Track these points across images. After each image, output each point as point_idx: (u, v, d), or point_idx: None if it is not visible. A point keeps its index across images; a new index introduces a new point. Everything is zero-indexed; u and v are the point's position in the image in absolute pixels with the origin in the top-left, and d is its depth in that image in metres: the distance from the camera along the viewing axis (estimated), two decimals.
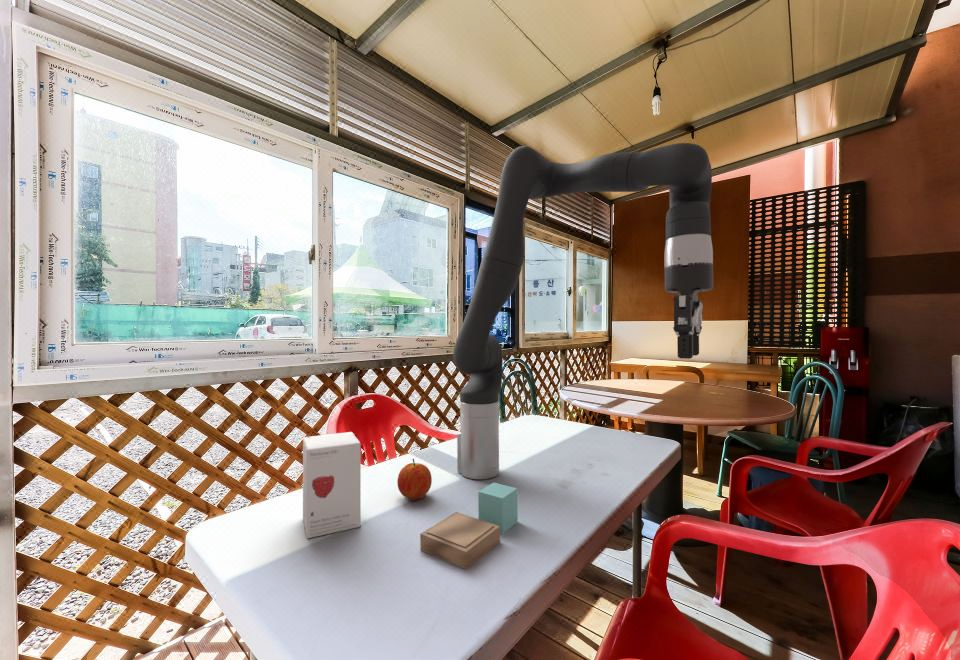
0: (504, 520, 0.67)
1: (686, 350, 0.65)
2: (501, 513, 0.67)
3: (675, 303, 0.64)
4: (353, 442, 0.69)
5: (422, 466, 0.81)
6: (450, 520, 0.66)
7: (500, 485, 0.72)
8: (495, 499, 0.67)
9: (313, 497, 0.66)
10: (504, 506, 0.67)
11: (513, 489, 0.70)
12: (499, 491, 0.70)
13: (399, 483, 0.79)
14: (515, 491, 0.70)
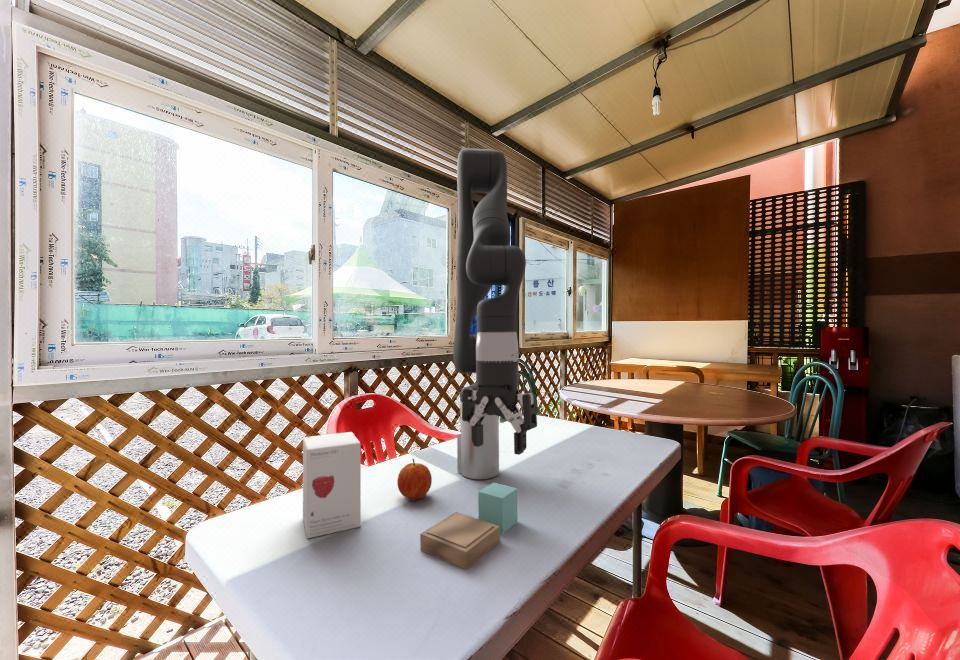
0: (504, 520, 0.67)
1: (524, 445, 0.67)
2: (501, 513, 0.67)
3: (529, 402, 0.65)
4: (353, 442, 0.69)
5: (422, 466, 0.81)
6: (450, 520, 0.66)
7: (500, 485, 0.72)
8: (495, 499, 0.67)
9: (313, 497, 0.66)
10: (504, 506, 0.67)
11: (513, 489, 0.70)
12: (498, 491, 0.70)
13: (399, 483, 0.79)
14: (515, 491, 0.70)
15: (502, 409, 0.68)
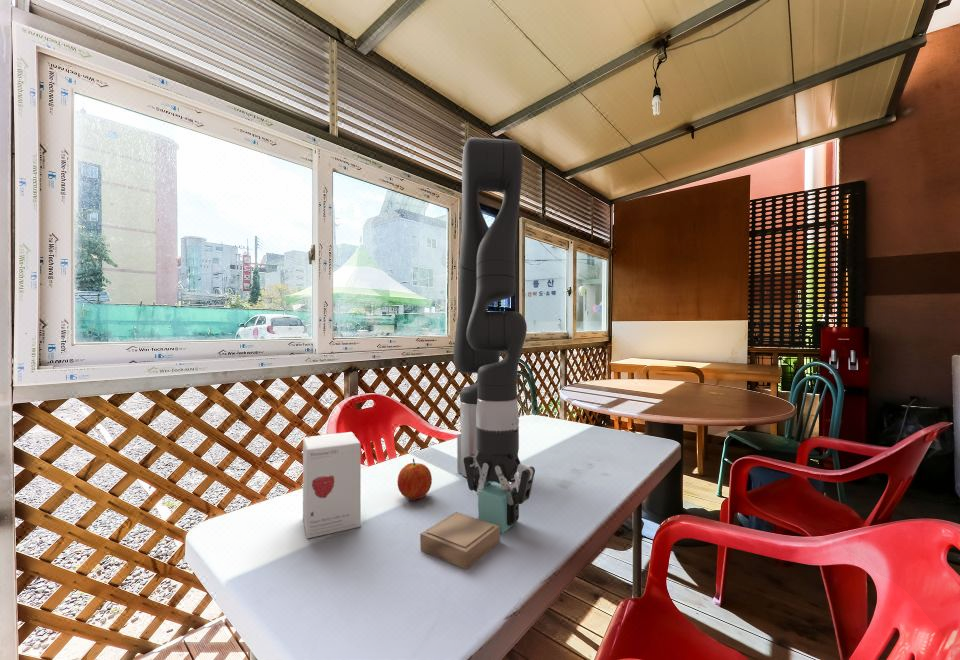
0: (504, 519, 0.67)
1: (517, 516, 0.68)
2: (501, 513, 0.67)
3: (528, 479, 0.66)
4: (353, 442, 0.69)
5: (422, 466, 0.81)
6: (450, 520, 0.66)
7: (500, 485, 0.72)
8: (495, 499, 0.67)
9: (313, 497, 0.66)
10: (504, 506, 0.67)
11: None
12: (498, 490, 0.70)
13: (399, 483, 0.79)
14: None
15: (500, 478, 0.68)
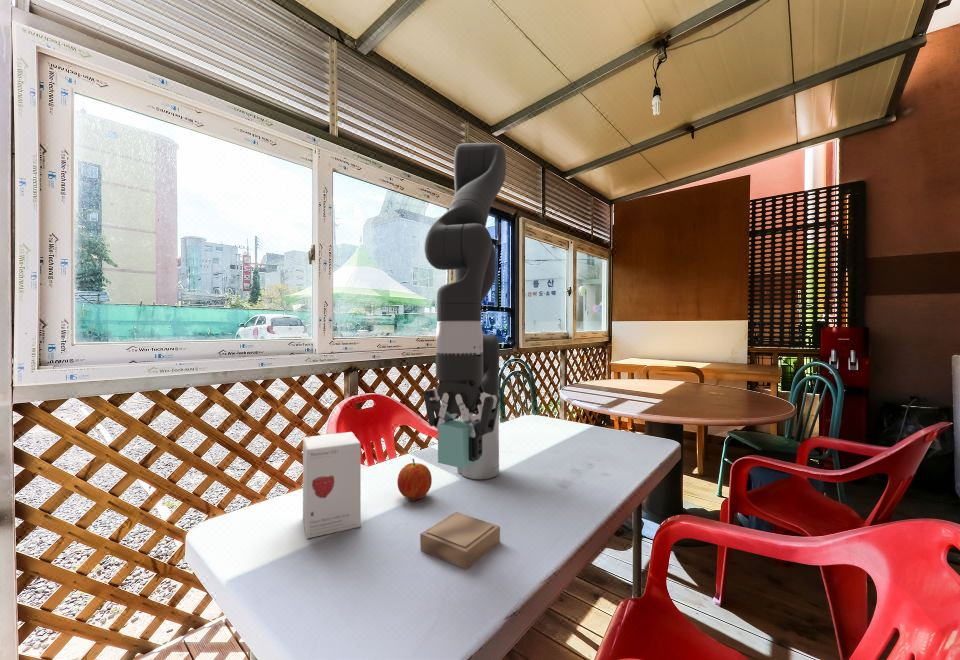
0: (465, 454, 0.60)
1: (480, 451, 0.61)
2: (461, 446, 0.60)
3: (490, 407, 0.58)
4: (353, 442, 0.69)
5: (422, 466, 0.81)
6: (450, 520, 0.66)
7: None
8: (455, 431, 0.60)
9: (313, 497, 0.66)
10: (465, 438, 0.60)
11: None
12: (460, 424, 0.62)
13: (399, 483, 0.79)
14: None
15: (461, 408, 0.61)
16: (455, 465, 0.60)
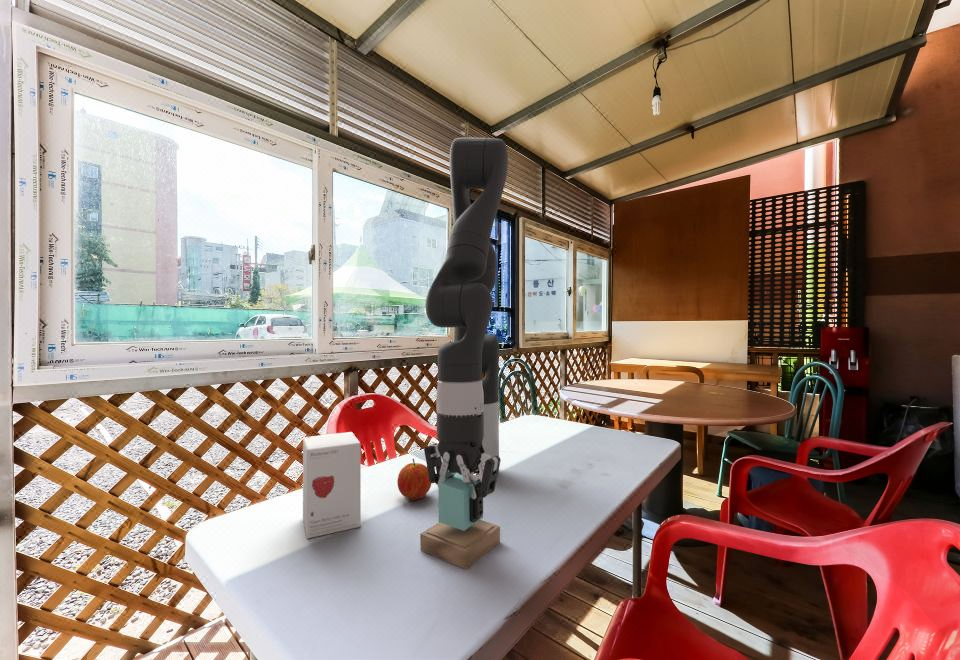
0: (466, 515, 0.60)
1: (481, 512, 0.61)
2: (462, 507, 0.60)
3: (491, 470, 0.58)
4: (353, 442, 0.69)
5: (422, 466, 0.81)
6: None
7: None
8: (456, 492, 0.60)
9: (313, 497, 0.66)
10: (466, 500, 0.60)
11: None
12: (461, 483, 0.62)
13: (399, 483, 0.79)
14: None
15: (462, 469, 0.61)
16: (456, 526, 0.60)
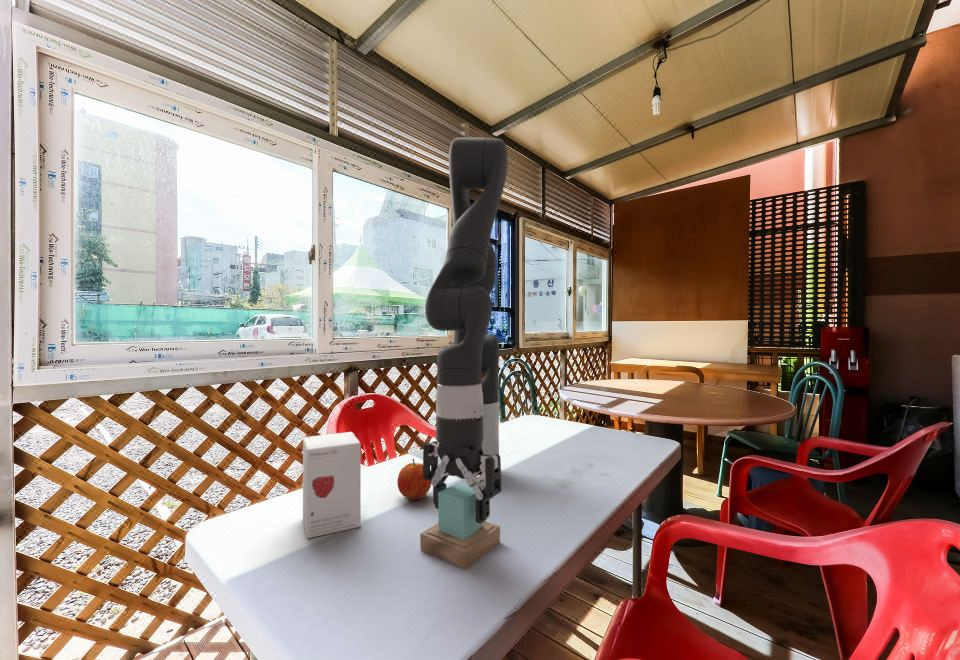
0: (466, 524, 0.60)
1: (487, 513, 0.60)
2: (462, 517, 0.60)
3: (492, 467, 0.58)
4: (353, 442, 0.69)
5: (422, 466, 0.81)
6: None
7: (464, 485, 0.65)
8: (456, 501, 0.60)
9: (313, 497, 0.66)
10: (466, 509, 0.60)
11: None
12: (461, 492, 0.62)
13: (399, 483, 0.79)
14: None
15: (463, 472, 0.60)
16: (455, 535, 0.60)
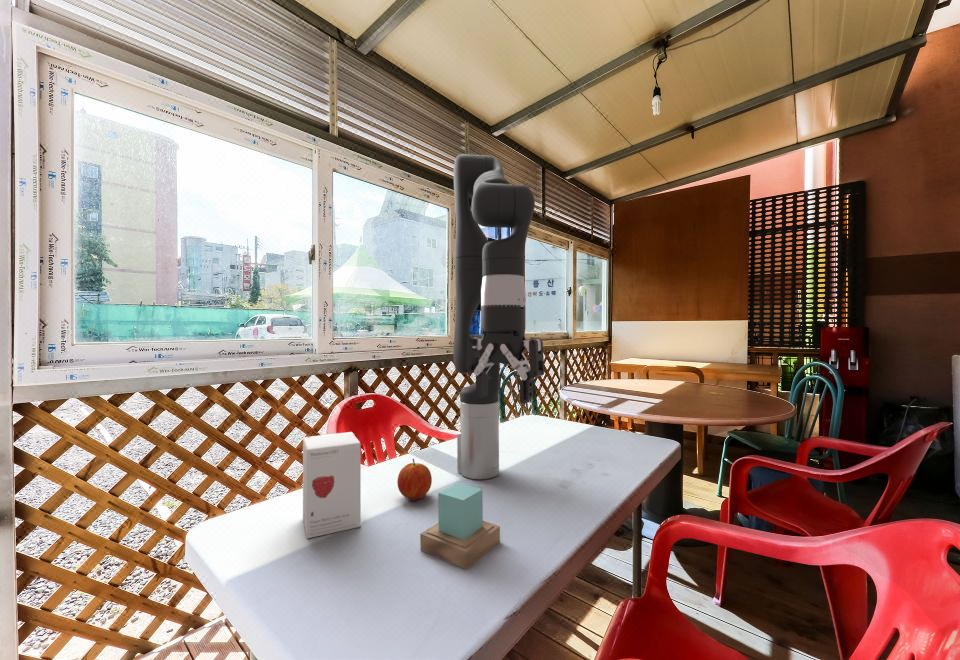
0: (466, 524, 0.60)
1: (531, 394, 0.64)
2: (462, 517, 0.60)
3: (536, 348, 0.62)
4: (353, 442, 0.69)
5: (422, 466, 0.81)
6: None
7: (464, 485, 0.65)
8: (456, 501, 0.60)
9: (313, 497, 0.66)
10: (466, 509, 0.60)
11: (477, 490, 0.63)
12: (461, 492, 0.62)
13: (399, 483, 0.79)
14: (480, 492, 0.63)
15: (508, 356, 0.64)
16: (455, 535, 0.60)
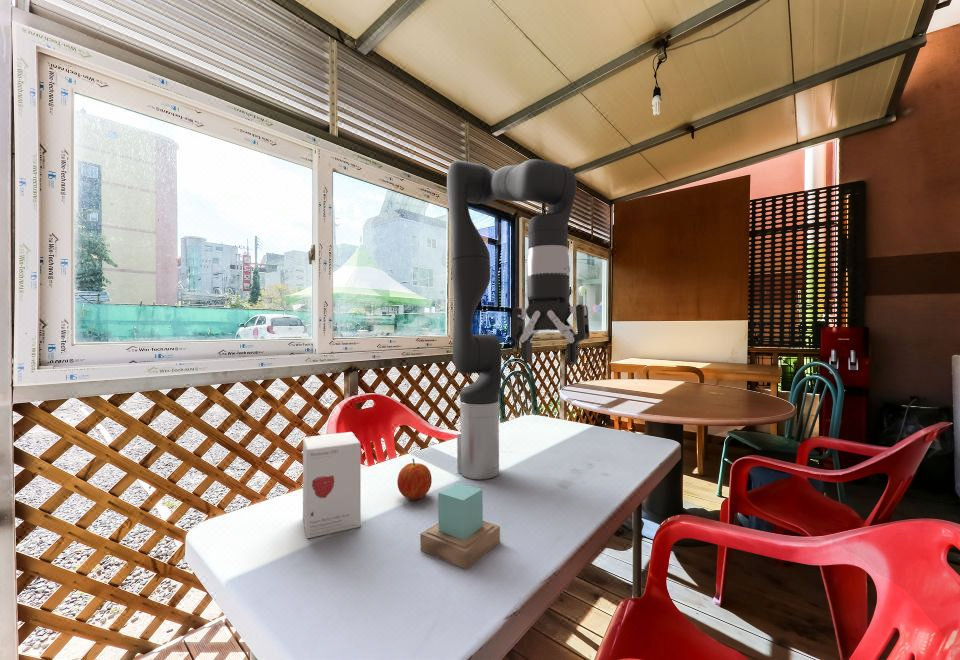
0: (466, 524, 0.60)
1: (577, 357, 0.69)
2: (462, 517, 0.60)
3: (583, 312, 0.67)
4: (353, 442, 0.69)
5: (422, 466, 0.81)
6: None
7: (464, 485, 0.65)
8: (456, 501, 0.60)
9: (313, 497, 0.66)
10: (466, 509, 0.60)
11: (477, 490, 0.63)
12: (461, 492, 0.62)
13: (399, 483, 0.79)
14: (480, 492, 0.63)
15: (555, 321, 0.69)
16: (455, 535, 0.60)
